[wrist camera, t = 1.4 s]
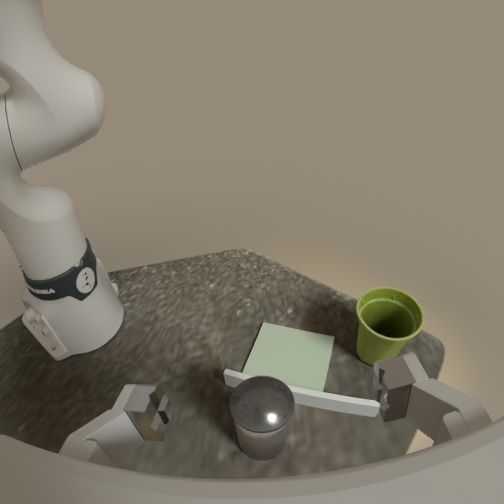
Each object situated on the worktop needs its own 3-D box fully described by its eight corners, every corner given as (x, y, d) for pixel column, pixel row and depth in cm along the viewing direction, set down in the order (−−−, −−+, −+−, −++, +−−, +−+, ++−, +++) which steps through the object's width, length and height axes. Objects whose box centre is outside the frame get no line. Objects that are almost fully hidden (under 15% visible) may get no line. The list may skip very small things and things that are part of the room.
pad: (241, 376, 40) (241, 375, 39) (263, 323, 47) (263, 322, 47) (321, 395, 37) (322, 394, 36) (334, 338, 44) (334, 336, 44)
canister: (231, 453, 31) (219, 420, 24) (247, 413, 35) (242, 369, 28) (278, 466, 29) (284, 438, 23) (292, 425, 33) (301, 383, 27)
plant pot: (357, 385, 37) (374, 347, 32) (336, 333, 45) (346, 292, 40) (413, 367, 38) (436, 329, 33) (388, 321, 46) (403, 281, 41)
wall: (225, 384, 39) (223, 373, 37) (227, 380, 39) (225, 368, 37) (374, 417, 33) (381, 407, 31) (375, 411, 34) (382, 401, 32)
